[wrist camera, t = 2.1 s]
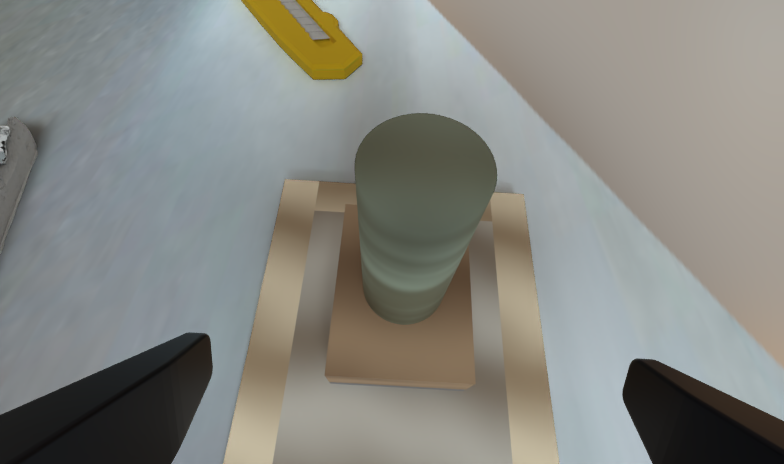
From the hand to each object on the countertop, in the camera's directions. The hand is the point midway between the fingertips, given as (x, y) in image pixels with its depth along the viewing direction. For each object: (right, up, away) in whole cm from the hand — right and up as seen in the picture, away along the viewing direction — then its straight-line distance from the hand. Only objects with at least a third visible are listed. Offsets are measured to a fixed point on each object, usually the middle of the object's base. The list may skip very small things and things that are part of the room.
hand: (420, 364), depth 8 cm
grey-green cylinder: (0, -1, +11) cm, 11 cm away
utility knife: (-10, +22, +25) cm, 35 cm away
